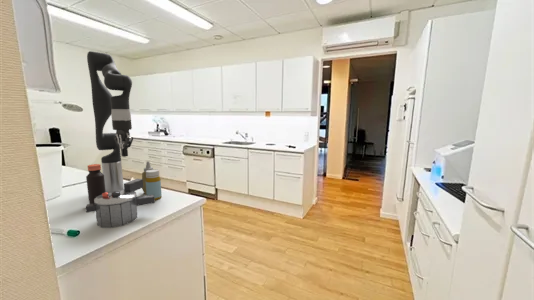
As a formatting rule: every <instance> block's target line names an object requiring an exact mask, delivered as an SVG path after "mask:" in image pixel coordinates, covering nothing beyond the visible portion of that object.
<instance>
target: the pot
mask: <svg viewBox="0 0 534 300" xmlns="http://www.w3.org/2000/svg"><path fill="white" fill-rule="evenodd" d="M155 203H156V200H154V195H147V194H146V195H141V196H136V198H135V199H133V200H131V201H129V202H126V203H122V204H117V205H110V206H100V205H96V204H95V203H92V204H89V203H87V204H86V205H85V212H86V213H92V212H93V213H94V212H95V216H96V225H97V227H99V228H102V229H113V228H118V227H123V226H125V225H129V224H131V223H133V222H135V221H136V220H137V219H138V206H146V205H150V204H155Z"/></svg>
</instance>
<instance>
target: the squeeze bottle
mask: <svg viewBox="0 0 534 300" xmlns="http://www.w3.org/2000/svg"><path fill="white" fill-rule="evenodd" d="M152 169H154V167H152V166H151V163H150V161H146V164H145V167H144V168H143V172H142V173H141V179H143V188H141V189H142V192H143V194H144V195H147V193H146V171H147V170H152Z"/></svg>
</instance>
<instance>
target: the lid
mask: <svg viewBox="0 0 534 300" xmlns="http://www.w3.org/2000/svg"><path fill="white" fill-rule="evenodd" d="M123 186H124V190H122V191H114V192H109V193H108V192H104V193H102V195H99V196H97V197H96V198H95V199H94V203H95V204H96V205H100V206H110V205H117V204H122V203H126V202H129V201H131V200H133V199H135V198H136V197H137V192H136V191H138V190H140V189H142V188H143V179H142V178H135V179H132V180H130V181H128V182H125V183H124V182H123Z"/></svg>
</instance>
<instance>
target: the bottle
mask: <svg viewBox="0 0 534 300" xmlns="http://www.w3.org/2000/svg"><path fill="white" fill-rule="evenodd" d="M160 176H161V175H160V169H154V168H153V169H152V170H147V171H146V193H147V194H146V196H147V195H154V201H157V200H160V199H161V198H162V182H161V177H160Z"/></svg>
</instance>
